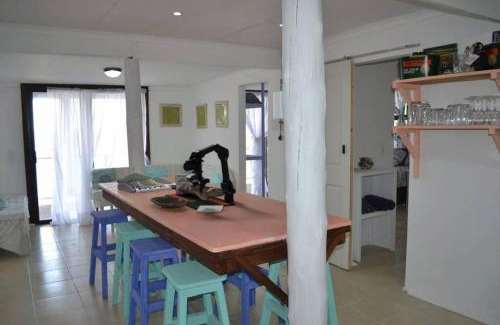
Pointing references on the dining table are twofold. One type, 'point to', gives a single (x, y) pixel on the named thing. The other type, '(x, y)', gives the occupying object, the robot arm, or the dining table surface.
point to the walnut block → (203, 195)
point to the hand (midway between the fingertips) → (198, 192)
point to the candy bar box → (181, 183)
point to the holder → (167, 187)
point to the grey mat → (210, 209)
